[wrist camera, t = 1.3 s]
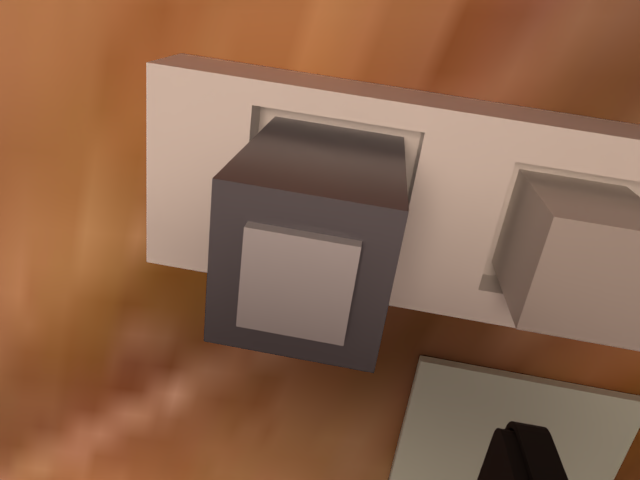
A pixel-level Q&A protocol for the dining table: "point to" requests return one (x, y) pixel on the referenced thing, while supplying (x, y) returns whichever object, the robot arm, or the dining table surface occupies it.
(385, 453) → the dining table surface
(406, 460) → the felt pad
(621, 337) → the small plug
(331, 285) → the block
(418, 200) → the power strip
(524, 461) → the robot arm
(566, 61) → the dining table surface
